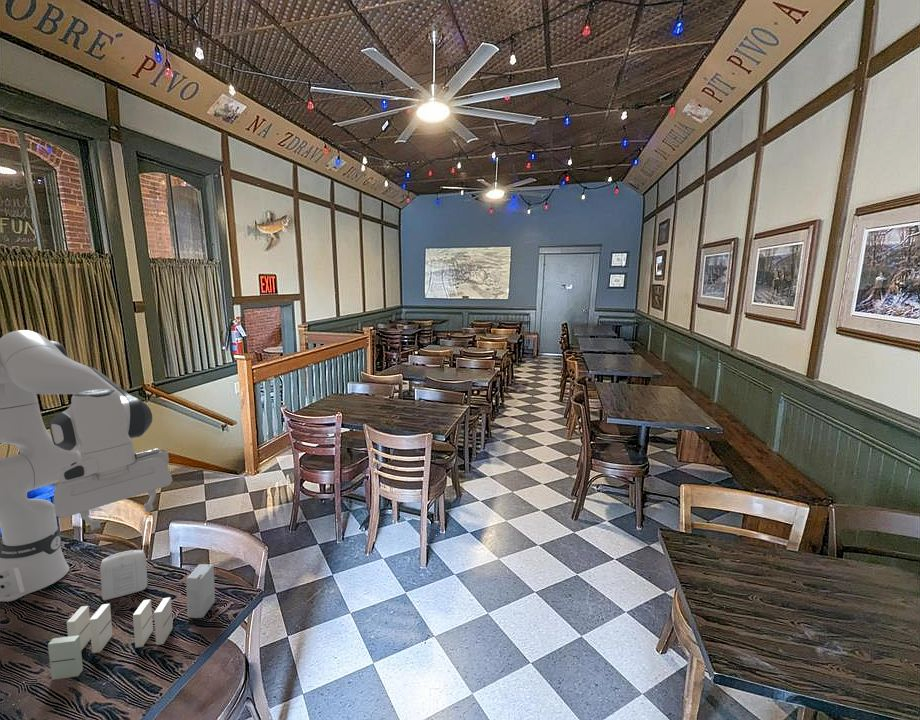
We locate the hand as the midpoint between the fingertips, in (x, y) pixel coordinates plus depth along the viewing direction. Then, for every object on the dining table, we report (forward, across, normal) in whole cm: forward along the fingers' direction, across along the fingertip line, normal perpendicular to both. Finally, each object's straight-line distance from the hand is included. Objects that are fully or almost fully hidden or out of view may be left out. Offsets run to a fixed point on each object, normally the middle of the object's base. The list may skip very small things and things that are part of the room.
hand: (123, 519), depth 92 cm
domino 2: (+32, +9, -18) cm, 37 cm away
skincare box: (+35, -12, -15) cm, 40 cm away
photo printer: (+28, +3, -36) cm, 46 cm away
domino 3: (+34, +1, -14) cm, 36 cm away
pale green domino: (+32, +15, -12) cm, 38 cm away
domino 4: (+34, -3, -11) cm, 36 cm away
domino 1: (+31, +13, -20) cm, 39 cm away
